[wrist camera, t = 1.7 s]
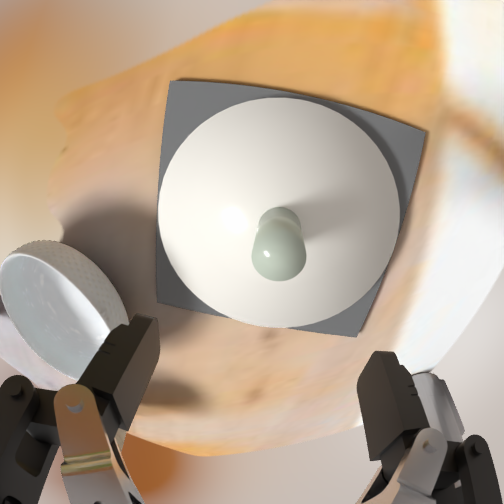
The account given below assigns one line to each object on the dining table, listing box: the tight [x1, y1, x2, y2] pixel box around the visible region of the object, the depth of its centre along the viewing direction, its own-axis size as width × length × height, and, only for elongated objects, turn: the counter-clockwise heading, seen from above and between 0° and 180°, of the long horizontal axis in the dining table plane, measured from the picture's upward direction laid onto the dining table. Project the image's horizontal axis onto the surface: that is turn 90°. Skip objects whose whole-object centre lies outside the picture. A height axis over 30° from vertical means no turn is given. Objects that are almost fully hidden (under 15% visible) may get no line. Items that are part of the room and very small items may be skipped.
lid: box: [158, 98, 400, 328], centre depth 19 cm, size 19×19×6 cm
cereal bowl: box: [0, 240, 129, 381], centre depth 25 cm, size 17×17×7 cm
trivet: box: [156, 81, 426, 337], centre depth 22 cm, size 20×20×1 cm
